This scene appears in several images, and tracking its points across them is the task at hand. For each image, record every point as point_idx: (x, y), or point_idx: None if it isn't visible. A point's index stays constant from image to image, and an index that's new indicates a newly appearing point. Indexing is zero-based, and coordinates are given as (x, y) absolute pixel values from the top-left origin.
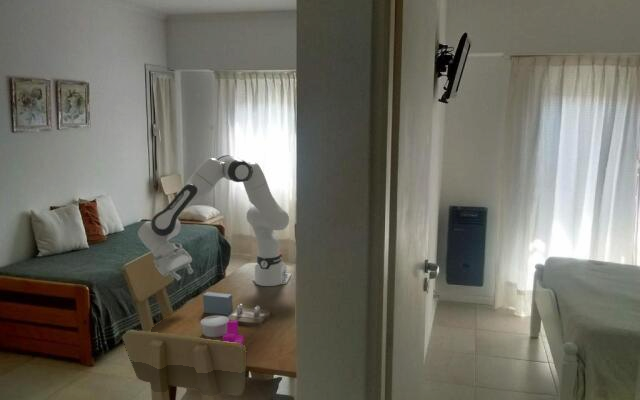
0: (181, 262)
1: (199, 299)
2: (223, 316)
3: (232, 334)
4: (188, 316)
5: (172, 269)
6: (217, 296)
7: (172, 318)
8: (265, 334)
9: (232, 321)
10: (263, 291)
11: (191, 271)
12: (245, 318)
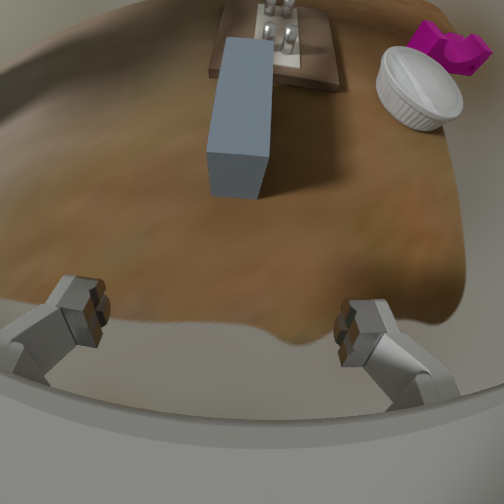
0: (112, 460)
1: None
2: (386, 60)
3: (475, 36)
4: (325, 248)
5: (478, 397)
6: (272, 78)
7: None
8: (355, 10)
9: (435, 29)
10: (21, 96)
11: (96, 280)
12: (306, 34)
